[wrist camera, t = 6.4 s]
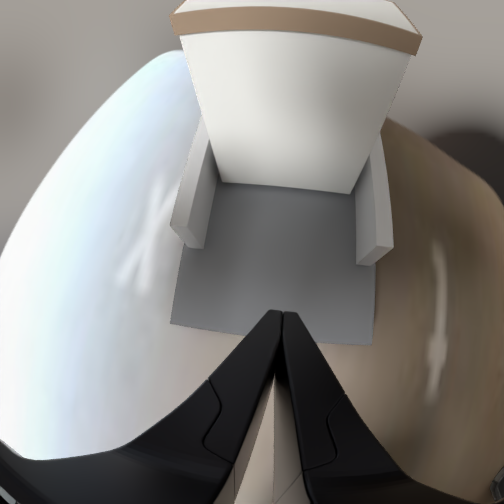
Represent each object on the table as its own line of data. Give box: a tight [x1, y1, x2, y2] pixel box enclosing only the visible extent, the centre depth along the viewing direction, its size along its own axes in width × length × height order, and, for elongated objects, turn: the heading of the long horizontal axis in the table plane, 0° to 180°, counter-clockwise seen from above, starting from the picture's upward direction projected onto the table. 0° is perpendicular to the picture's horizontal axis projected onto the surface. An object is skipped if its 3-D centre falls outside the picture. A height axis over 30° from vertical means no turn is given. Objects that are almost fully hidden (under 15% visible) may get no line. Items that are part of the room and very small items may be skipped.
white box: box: [169, 0, 422, 194], centre depth 10 cm, size 3×7×10 cm, turn 83°
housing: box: [170, 115, 394, 345], centre depth 14 cm, size 14×10×4 cm
